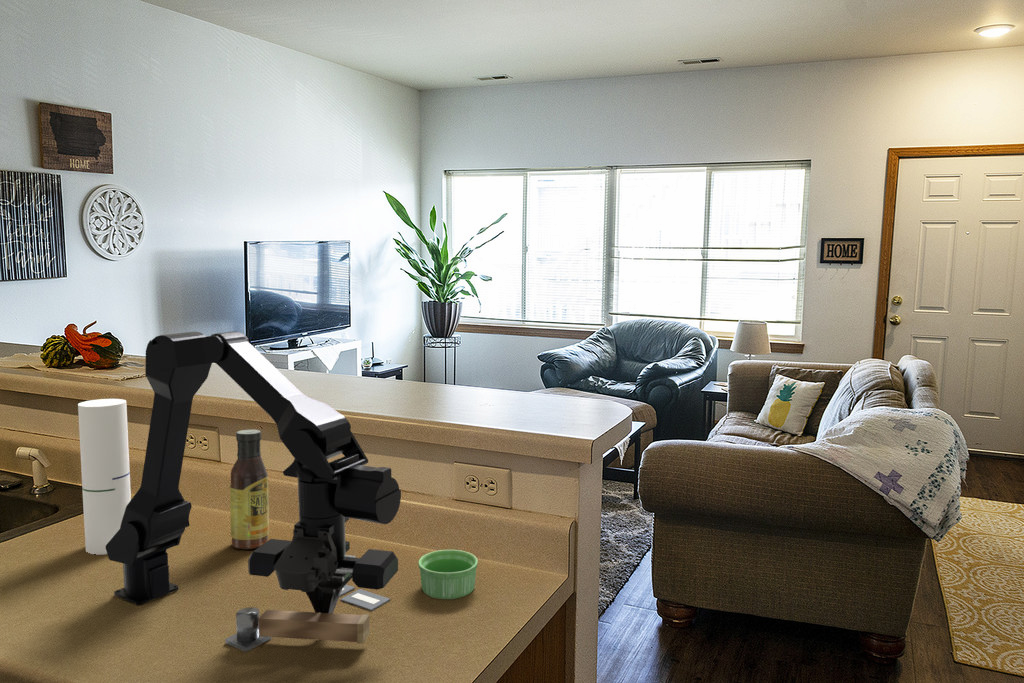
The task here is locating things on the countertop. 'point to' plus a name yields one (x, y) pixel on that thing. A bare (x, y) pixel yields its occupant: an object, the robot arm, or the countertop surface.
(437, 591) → the ramekin
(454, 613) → the countertop surface
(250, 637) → the post on base plate
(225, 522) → the countertop surface
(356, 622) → the bar
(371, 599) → the label tile
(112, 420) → the cylindrical container
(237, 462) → the sauce bottle
